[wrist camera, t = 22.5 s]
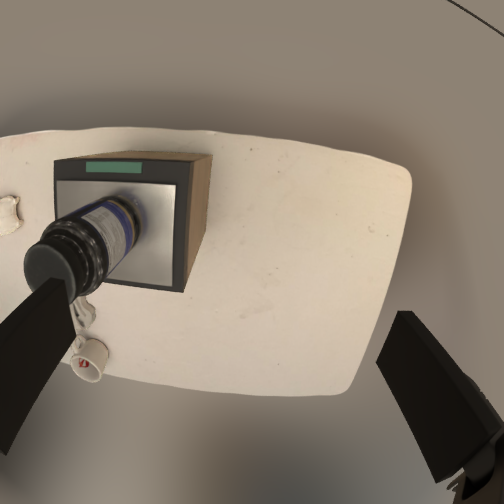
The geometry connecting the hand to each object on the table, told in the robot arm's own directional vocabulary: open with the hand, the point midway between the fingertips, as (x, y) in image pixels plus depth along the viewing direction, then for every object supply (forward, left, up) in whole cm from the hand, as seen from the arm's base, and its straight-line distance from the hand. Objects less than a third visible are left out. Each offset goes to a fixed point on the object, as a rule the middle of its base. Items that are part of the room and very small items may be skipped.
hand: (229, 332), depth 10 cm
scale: (+12, +2, -20) cm, 23 cm away
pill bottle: (+12, +2, -17) cm, 21 cm away
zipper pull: (+33, +24, -39) cm, 56 cm away
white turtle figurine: (+52, +8, -39) cm, 65 cm away
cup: (+30, +38, -39) cm, 62 cm away
